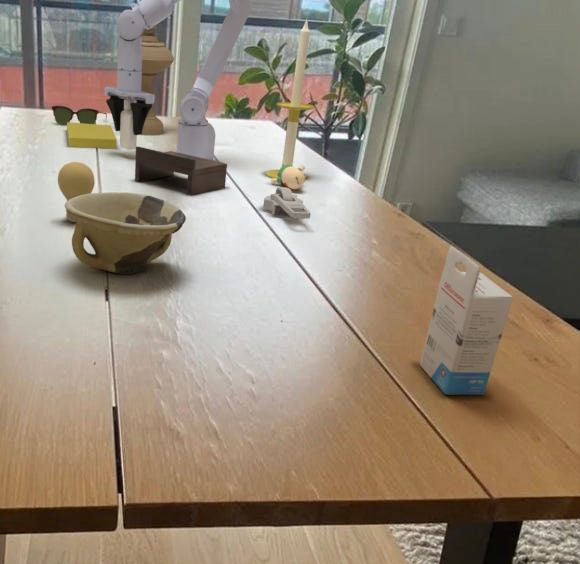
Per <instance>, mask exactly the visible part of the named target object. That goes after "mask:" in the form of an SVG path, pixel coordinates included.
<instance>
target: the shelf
mask: <svg viewBox="0 0 580 564" xmlns="http://www.w3.org/2000/svg"><path fill="white" fill-rule="evenodd" d="M134 163H135V164H134V165H135V167H134V181H135V182H138V183H139V182H145V181H150V180H154V179H161V178H166V177H170V176H174V175H175V173H178V174H181V175H186V176H187V183H186V195H189V196H194V195H199V194H203V193H208V192H212V191H217V190H221V189H225V188H226V182H227V181H226V179H227V169H228V163H226V162H222V161H217V160H216V161H213V160H208V159H204V158H199V157H195V156H191V155H186V154H182V153H177V151H173V150H171V151H170V150H169V151H160V150H157V149H156V150H155V149H151V148H147V147H142V146H136V149H135V162H134Z"/></svg>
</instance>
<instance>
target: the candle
mask: <svg viewBox="0 0 580 564" xmlns="http://www.w3.org/2000/svg"><path fill="white" fill-rule="evenodd" d="M308 22H309V21H308V19H306V20H305V22H304V24H303V26H302V28H301V30H300V31H299V37H298V38H299V39H298V45H297V54H296V60H295V61H296V63H295V67H294V75H293V83H292V92H291V93H292V94H291V100H290V101H279V102H277V103H276V106H277V107H279V108H282V109H287V110H288V116H287V123H286V131H285V139H284V146H283V154H282V163H281V167H282V166H284V165H291V166H293V164H294V157H295V150H296V142H297V137H298V127H299V120H300V113H301V111H310V110H313V109H314V107H315V106H314V105H312V104H309V103H302V102H301V101H302V95H303V94H302V93H303V86H304V79H305V78H304V77H305V72H306V71H305V70H306V64H307V56H308V50H309V41H310V35H311V31H310V29H309V23H308ZM279 170H280V169H268V170H266V171H265V172H264V175H265V176H266V177H268V178H271V179H273V178H278V172H279ZM303 174H304V180H306V179H307V177H308V176H307V174H305V173H303Z"/></svg>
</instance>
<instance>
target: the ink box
mask: <svg viewBox="0 0 580 564" xmlns="http://www.w3.org/2000/svg"><path fill="white" fill-rule="evenodd" d="M458 264H459V265H462V267H463V268H464V269H465V271H461V270H459V269H458V268H457V265H458ZM513 300H514V297H513V296H512V295H511V294H510V293H508V292H507V291H506V290H504V289H503V288H502V287H501V286H499V285H498V284H496V283H495V282H494V281H493V280H491V279H490V278H488V276H486V275H485V274H484V273H483V272H481V267H480V266H479V264H477V263H476V262H475V261H473V260H472V259H471V258H469V257H468V256H467V255H466V254H464V253H463V252H461V251H459V250H458V249H457V248H456V247H454V246H452V245H451V246H450V247H449V248H448V252H447V255H446V259H445V263H444V267H443V271H442V274H441V277H440V281H439V285H438V289H437V293H436V298H435V301H434V306H433V310H432V314H431V318H430V322H429V326H428V331H427V334H426V338H425V343H424V346H423V350H422V353H421V358H420V361H419V366H420V367H421V368H422V370H423V371H424V372H425V373H426V374H427V375H428V376H429V378H430V379H431V380H432V381H433V383H435V385H436V386H437V387H438V388H439V390H440V391H441V392H442V393H443V394H444V395H448V396H453V395H454V396H455V395H456V396H458V395H459V396H461V395H462V396H465V395H466V396H470V395H471V396H483V395H484V394H485V391H486V388H487V385H488V382H489V378H490V376H491V372H492V369H493V365H494V362H495V358H496V356H497V353H498V349H499V345H500V342H501V339H502V336H503V333H504V329H505V326H506V324H507V323H506V322H507V319H508V316H509V314H510V310H511V307H512V303H513Z"/></svg>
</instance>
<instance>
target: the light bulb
mask: <svg viewBox="0 0 580 564" xmlns="http://www.w3.org/2000/svg"><path fill="white" fill-rule="evenodd" d="M95 183H96V182H95V175H94V172H93V171H92V169H91V167H90V166H89V165H88V164H85V163H84V162H83V163H82V162H79V161H72V162H68V163H66V164H64V165H63V166H61V168H60V170H59V172H58V175H57V184H58V188H59V190H60V192H61V193H62V195H63V196H64V198H65V199H66V202H67V201H68V200H70V199H72V198H74V197H77V196H80V195H84V194H90V193H93V190H94V188H95ZM65 218H66V219H67V220H68V221H69V222H71V223H76V221H75V220H74V219H71V218H70V217H68V215H67V210H66V209H65Z"/></svg>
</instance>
